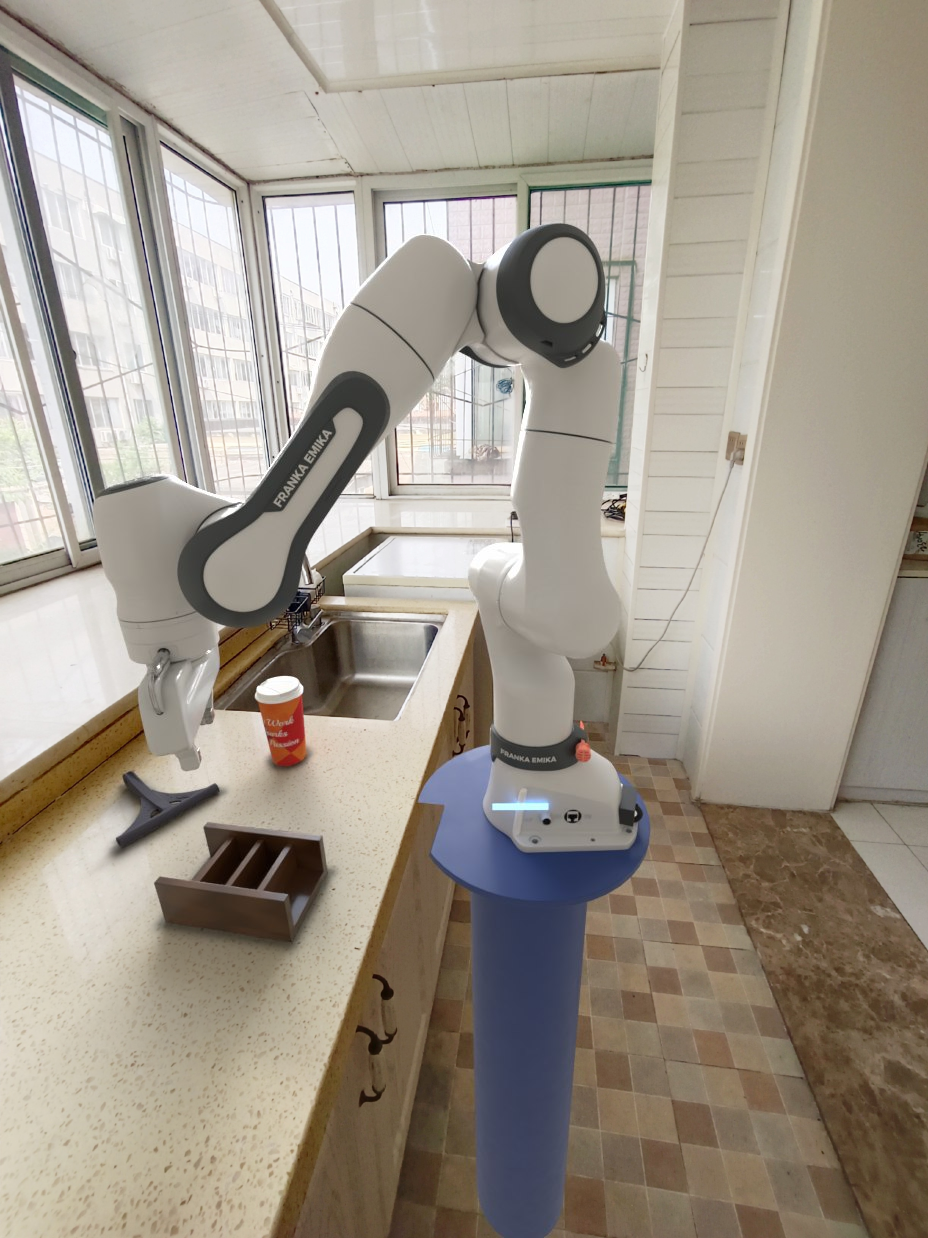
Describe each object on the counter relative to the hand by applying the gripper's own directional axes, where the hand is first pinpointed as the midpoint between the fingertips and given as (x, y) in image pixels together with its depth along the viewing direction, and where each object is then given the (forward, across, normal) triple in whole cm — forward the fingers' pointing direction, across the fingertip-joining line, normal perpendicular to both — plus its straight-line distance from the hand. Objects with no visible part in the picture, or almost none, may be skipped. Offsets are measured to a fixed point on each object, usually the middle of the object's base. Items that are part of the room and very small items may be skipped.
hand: (200, 742), depth 63 cm
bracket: (+20, +19, +14) cm, 31 cm away
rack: (+20, -4, -2) cm, 21 cm away
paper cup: (+20, +25, -6) cm, 33 cm away
